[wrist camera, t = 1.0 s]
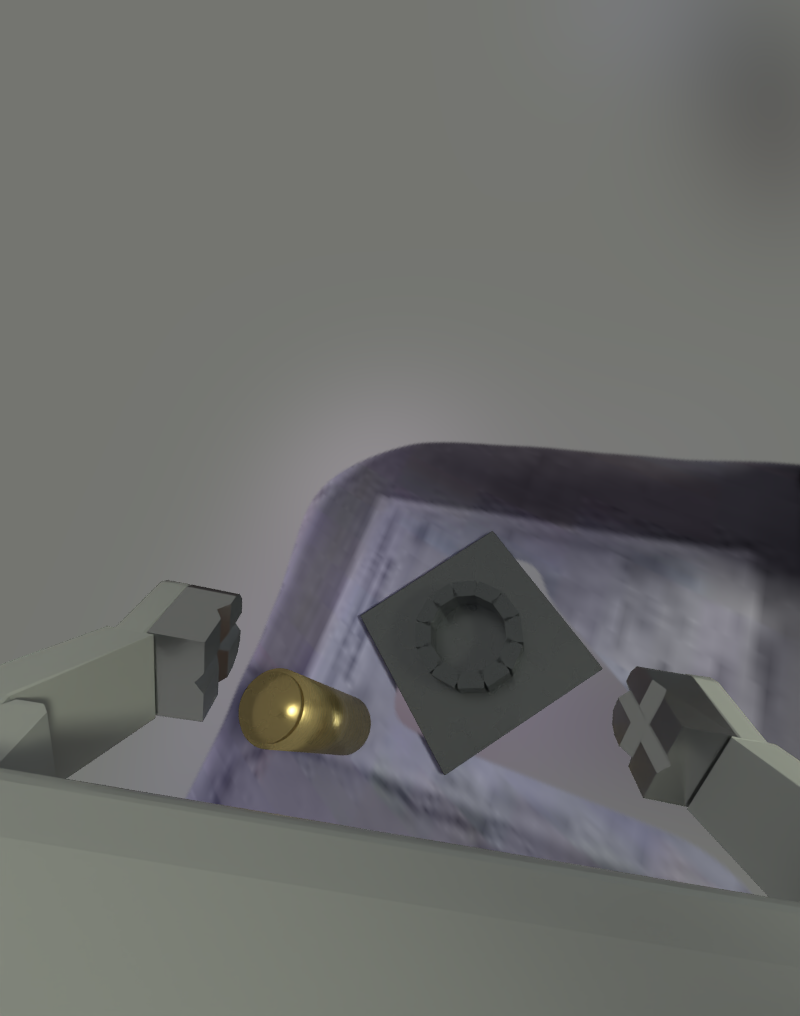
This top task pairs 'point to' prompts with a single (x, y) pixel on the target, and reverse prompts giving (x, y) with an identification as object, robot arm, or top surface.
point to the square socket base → (476, 650)
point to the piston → (302, 715)
